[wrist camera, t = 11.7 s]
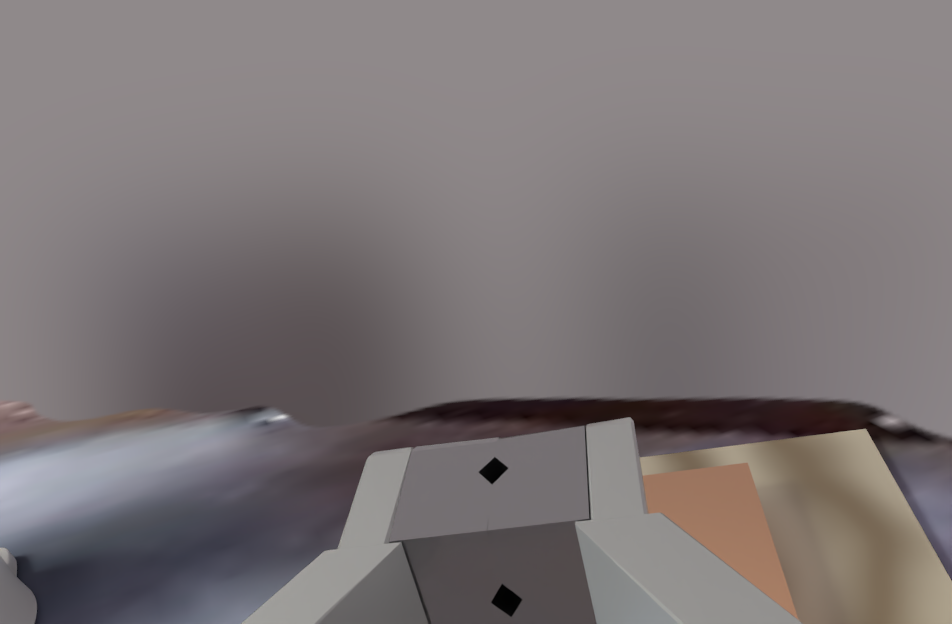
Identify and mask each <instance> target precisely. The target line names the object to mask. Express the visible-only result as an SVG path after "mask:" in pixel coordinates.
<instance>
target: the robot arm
mask: <svg viewBox="0 0 952 624" xmlns="http://www.w3.org/2000/svg"><path fill="white" fill-rule="evenodd" d="M36 614H37V602H36V599H35V596H34V594H33V592H32V591H31V590H30V589H29V588H28V587H27V586H26V585H25V584H24V583H22V582H21V581H20V580H19V579H18V578H17V562H16V559H15V558H14V557H13V555H12V554H11V553H10V552H9V550H8V549H6V548H0V624H34V623H35V620H36ZM241 624H803V623H802V622H800V621H799V620H798V619H797V618H795V617H794V616H793V615H791V614H790V613H789V612H788V611H786V610H785V609H784V608H783V607H781V606H780V605H779V604H777V603H776V602H775V601H774V600H772V599H771V598H770V597H769V596H767V595H766V594H765V593H763V592H762V591H761V590H760V589H758V588H757V587H756V586H754V585H753V584H752V583H751V582H749V581H748V580H747V579H746V578H744V577H743V576H742V575H740V574H739V573H738V572H737V571H735V570H734V569H733V568H732V567H730V566H729V565H728V564H726V563H725V562H724V561H723V560H721V559H720V558H719V557H718V556H716V555H715V554H714V553H712V552H711V551H710V550H709V549H707V548H706V547H705V546H703V545H702V544H701V543H700V542H698V541H697V540H696V539H695V538H693V537H692V536H691V535H689V534H688V533H687V532H686V531H684V530H683V529H682V528H681V527H679V526H678V525H677V524H675V523H674V522H673V521H672V520H670V519H669V518H668V517H667V516H665V515H664V514H663V513H651V514H649V512H648V506H647V500H646V494H645V488H644V482H643V475H642V469H641V463H640V457H639V451H638V445H637V439H636V433H635V427H634V421H633V420H632V419H631V418H630V417H628V418H622V419H616V420H611V421H605V422H599V423H593V424H587V426H579V427H573V428H566V429H559V430H553V431H546V432H539V433H533V434H526V435H519V436H513V437H506V438H500V437H498V438H489V439H480V440H471V441H462V442H453V443H444V444H435V445H426V446H418V447H416V448H412V447H408V448H401V449H394V450H387V451H379V452H374V453H373V454H372V455H370V456H369V457H368V459H367V460H366V463H365V466H364V469H363V472H362V475H361V479H360V482H359V485H358V488H357V491H356V494H355V497H354V500H353V503H352V506H351V509H350V512H349V515H348V518H347V521H346V524H345V527H344V530H343V534H342V537H341V540H340V543H339V546H338V549H335V550H327V551H324V552H323V553H322V554H321V555H319V556H318V557H317V558H316V559H315V560H314V561H312V562H311V563H310V564H309V565H308V566H307V567H306V568H304V569H303V570H302V571H301V572H300V573H299V574H298V575H296V576H295V577H294V578H293V579H292V580H291V581H289V582H288V583H287V584H286V585H285V586H284V587H283V588H281V589H280V590H279V591H278V592H277V593H276V594H274V595H273V596H272V597H271V598H270V599H269V600H268V601H266V602H265V603H264V604H263V605H262V606H261V607H260V608H258V609H257V610H256V611H255V612H254V613H253V614H251V615H250V616H249V617H248V618H247V619H246V620H245V621H243V622H242V623H241Z"/></svg>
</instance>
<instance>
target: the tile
mask: <svg viewBox="0 0 952 624" xmlns="http://www.w3.org/2000/svg"><path fill="white" fill-rule="evenodd" d="M643 482H644V488H645V494H646V500H647V506H648V512H649V514H651V513H663V514H664V515H665V516H667V517H668V518H669V519H670V520H672V521H673V522H674V523H675V524H677V525H678V526H679V527H681V528H682V529H683V530H684V531H686V532H687V533H688V534H689V535H691V536H692V537H693V538H695V539H696V540H697V541H698V542H700V543H701V544H702V545H703V546H705V547H706V548H707V549H709V550H710V551H711V552H712V553H714V554H715V555H716V556H718V557H719V558H720V559H721V560H723V561H724V562H725V563H726V564H728V565H729V566H730V567H732V568H733V569H734V570H735V571H737V572H738V573H739V574H740V575H742V576H743V577H744V578H746V579H747V580H748V581H749V582H751V583H752V584H753V585H754V586H756V587H757V588H758V589H760V590H761V591H762V592H763V593H765V594H766V595H767V596H769V597H770V598H771V599H772V600H774V601H775V602H776V603H777V604H779V605H780V606H781V607H783V608H784V609H785V610H786V611H788V612H789V613H790V614H791V615H793V616H794V617H795V618H797V619H798V617H797V613H796V610H795V607H794V604H793V601H792V598H791V595H790V592H789V589H788V586H787V583H786V579H785V576H784V573H783V570H782V567H781V564H780V561H779V558H778V555H777V552H776V549H775V545H774V542H773V539H772V536H771V533H770V530H769V527H768V524H767V521H766V518H765V515H764V511H763V508H762V505H761V502H760V499H759V496H758V493H757V490H756V487H755V484H754V481H753V477H752V474H751V471H750V468H749V465H748V463H740V464H732V465H724V466H716V467H708V468H700V469H692V470H684V471H676V472H667V473H659V474H651V475H643Z"/></svg>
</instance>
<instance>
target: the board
mask: <svg viewBox="0 0 952 624" xmlns="http://www.w3.org/2000/svg"><path fill="white" fill-rule="evenodd" d="M640 463H641V469H642V475H651V474H659V473H667V472H676V471H684V470H692V469H700V468H708V467H716V466H724V465H732V464H740V463H748V465H749V468H750V471H751V474H752V477H753V481H754V484H755V487H756V490H757V493H758V496H759V499H760V502H761V505H762V508H763V511H764V515H765V518H766V521H767V524H768V527H769V530H770V533H771V536H772V539H773V542H774V545H775V549H776V552H777V555H778V558H779V561H780V564H781V567H782V570H783V573H784V576H785V579H786V583H787V586H788V589H789V592H790V595H791V598H792V601H793V604H794V607H795V610H796V613H797V617H798V620H799V621H800V622H802V623H803V624H952V581H951V579H950V577H949V575H948V574H947V572H946V570H945V568H944V566H943V565H942V563H941V561H940V559H939V558H938V556H937V554H936V552H935V550H934V549H933V547H932V545H931V543H930V542H929V540H928V538H927V536H926V535H925V533H924V531H923V529H922V527H921V526H920V524H919V522H918V520H917V519H916V517H915V515H914V513H913V511H912V510H911V508H910V506H909V504H908V503H907V501H906V499H905V497H904V496H903V494H902V492H901V490H900V488H899V487H898V485H897V483H896V481H895V480H894V478H893V476H892V474H891V472H890V471H889V469H888V467H887V465H886V464H885V462H884V460H883V458H882V456H881V455H880V453H879V451H878V449H877V448H876V446H875V444H874V442H873V441H872V439H871V437H870V435H869V433H868V432H867V430H866V429H860V430H852V431H845V432H837V433H829V434H821V435H813V436H805V437H797V438H790V439H782V440H774V441H766V442H758V443H750V444H743V445H735V446H727V447H719V448H711V449H703V450H695V451H688V452H680V453H672V454H664V455H656V456H648V457H641V458H640Z"/></svg>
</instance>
